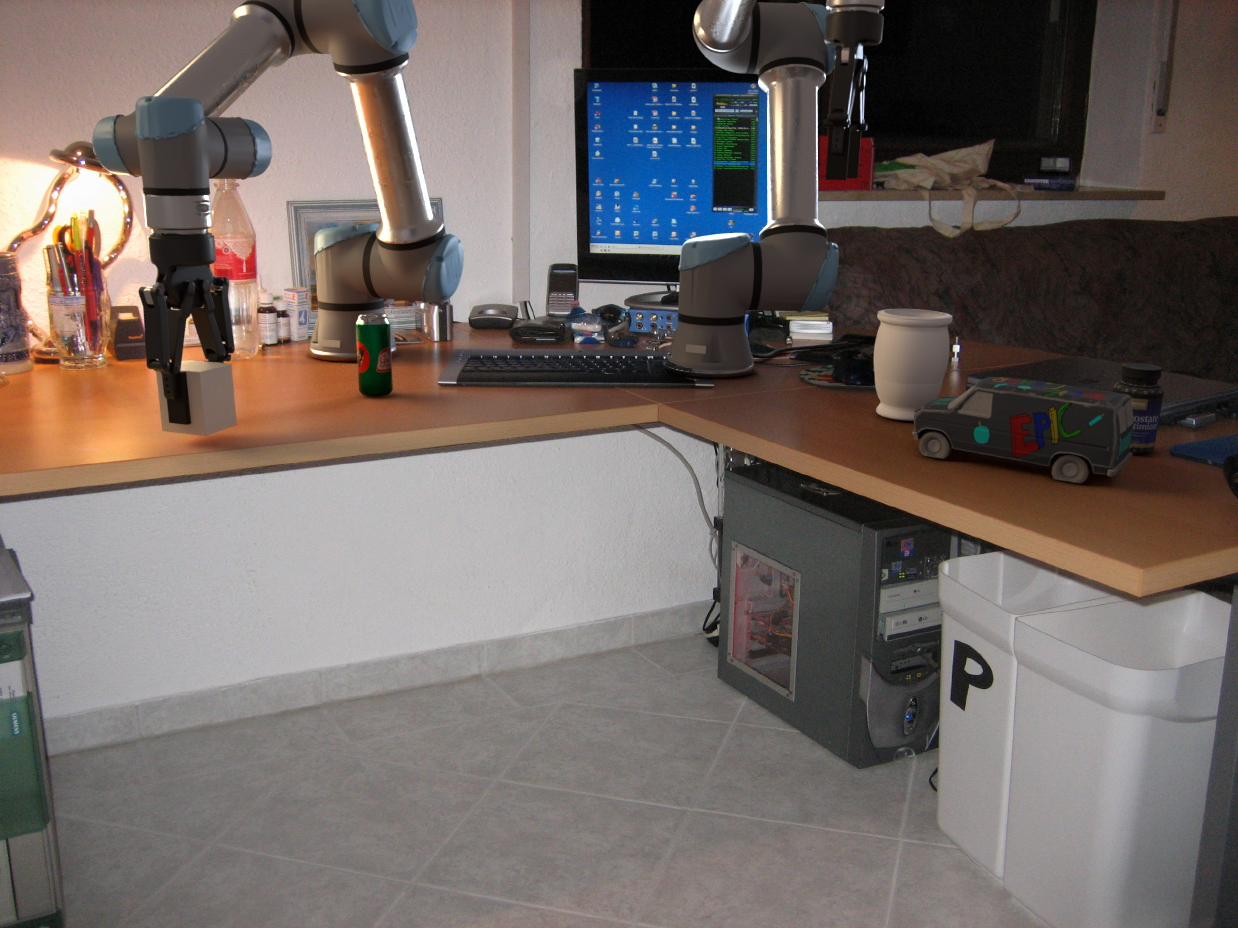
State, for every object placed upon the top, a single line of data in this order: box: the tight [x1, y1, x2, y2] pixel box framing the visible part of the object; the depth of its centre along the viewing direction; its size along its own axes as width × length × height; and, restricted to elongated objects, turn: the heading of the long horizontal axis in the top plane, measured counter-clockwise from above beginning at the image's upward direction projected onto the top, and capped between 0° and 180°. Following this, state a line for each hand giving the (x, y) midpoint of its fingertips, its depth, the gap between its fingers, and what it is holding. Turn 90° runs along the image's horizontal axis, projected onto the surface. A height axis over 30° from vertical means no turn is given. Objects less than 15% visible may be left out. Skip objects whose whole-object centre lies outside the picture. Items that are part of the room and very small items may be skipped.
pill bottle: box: [1111, 362, 1165, 455], centre depth 139 cm, size 6×6×11 cm
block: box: [155, 359, 238, 437], centre depth 135 cm, size 6×7×8 cm
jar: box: [873, 308, 953, 422], centre depth 154 cm, size 11×10×15 cm
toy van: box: [911, 376, 1135, 484], centre depth 132 cm, size 11×25×10 cm, turn 54°
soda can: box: [356, 313, 394, 398], centre depth 162 cm, size 5×5×12 cm
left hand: (198, 416), depth 136 cm, fingers closed on block, 6 cm apart
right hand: (842, 179), depth 147 cm, fingers open, 13 cm apart
